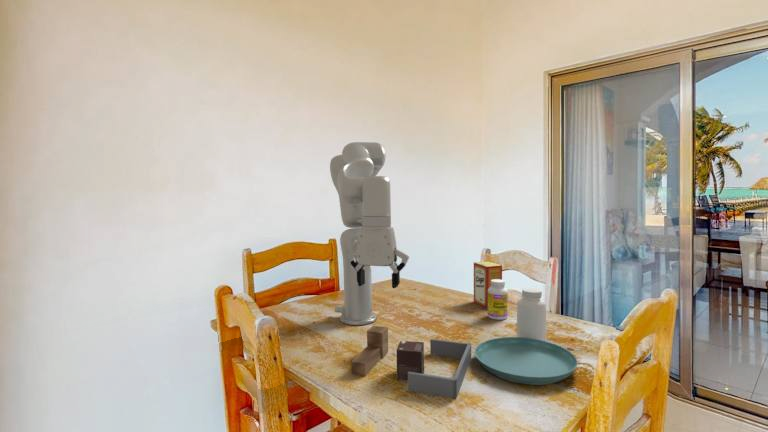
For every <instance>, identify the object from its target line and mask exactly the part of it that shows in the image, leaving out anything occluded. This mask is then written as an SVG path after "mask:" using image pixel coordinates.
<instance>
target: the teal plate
mask: <svg viewBox="0 0 768 432" xmlns="http://www.w3.org/2000/svg"><path fill="white" fill-rule="evenodd" d="M474 355H475V357H476V359H477V361H478V363H479V364H480V365H481V366H482V367H483V368H484V369H485V370H486V371H488V372H489V373H491V374H493V376H496V377H498V378H500V379H503V380H506V381H509V382H513V383H517V384H523V385H533V386H534V385H535V386H537V385H539V386H540V385H542V386H543V385H550V384H554V383H557V382H561V381H563V380H565V379H567V378H568V377H569V376H571V375H572V374H573V373H574V372H575V370H576V368H577V367H578V363H579V362H578V358H577V356H575V354H574V353H573V352H571V351H570V350H569V349H566V348H564V346H563V347H562V346H561V345H558V344H556V343H552V342H550V341H547V340H546V341H542V340H537V339H531V338H522V337H517V336H507V337H506V336H505V337H496V338H492V339H488V340H485V341H483V342H480V343H479V344H478V345H477V346H476V347H475V349H474Z"/></svg>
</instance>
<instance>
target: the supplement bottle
mask: <svg viewBox="0 0 768 432" xmlns="http://www.w3.org/2000/svg"><path fill="white" fill-rule="evenodd" d="M491 285H492V286H491V287H490V288H489V289H488V308H487V317H488V318H490V319H492V320H497V321H500V320H501V321H503V320H506V319H508V316H509V315H508V313H509V311H508V308H509V291H508V289H507V287H505V285H506V280H503V279H502V280H501V279H493V280H491Z"/></svg>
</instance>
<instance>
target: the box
mask: <svg viewBox="0 0 768 432" xmlns="http://www.w3.org/2000/svg"><path fill="white" fill-rule="evenodd" d="M408 372H415V373H421V374H425V343H424V342H423V341H408V340H403V341H402V340H401V341H399V344H398V345H397V348H396V380H399V381H408Z"/></svg>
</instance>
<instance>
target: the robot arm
mask: <svg viewBox="0 0 768 432" xmlns="http://www.w3.org/2000/svg"><path fill="white" fill-rule="evenodd" d="M385 162H386V150H385V149H384V146H383V145H382V144H381V143H379V142H377V141H376V142H375V141H374V142H373V141H372V142H368V141H367V142H363V141H355V142H350V143H347V144H346V145H344V147H343V148H342V151H341V154H337V155H334V156H333V157H332V158H331V159H330V163H329V170H330V171H329V172H330V176H331V179H332V181H331V182H332V184H333V185H334V188H335V189H336V192H337V194H338V198H339V207H340V217H341V221H342V224H343V225H344V227H346V228H348V229H345V230H344V231H342V233H341V234H340V236H339V237H340V239H339V242H340V243H339V245H340V250H341V254H342V265H343V266H342V267H343V297H344V299H343V301H344V303H343V304H344V305H340V304H338V305H337V304H336V305H335V306H334V312H335V313H340V314H341V315H340V317H339V320H340V322H341V323H343V324H346V325H350V326H361V325H363V326H364V325H369V324H372V323H374V322H376V320H377V319H378V317H377V315H378V314H376V313H374V312H373V301H372V300H373V297H372V296H373V294H372V293H373V291H372V289H373V288H372V283H373V281H372V267H389V268H390V269H391V270H392V273H391V287H392V289H396V288H397V287H398V286H399V285H400V282H401V280H400V272H401V271H402V270H403V269H404V268H405V267H406V266H407V263H408V262H409V259H410V256H409V255H408V254H406V253H404V252H403V251H400V250H399V249H398V248H397V239H396V234H395V229H394V227H392V210H391V209H392V207H391V180H390V178H388V177H387V176H385V175H378V173H379V172H380V171H381V169H382V168H383V167H384V165H385ZM398 258H400V259H401V261H400V263H399V264H398V263H397V261H398Z"/></svg>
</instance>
